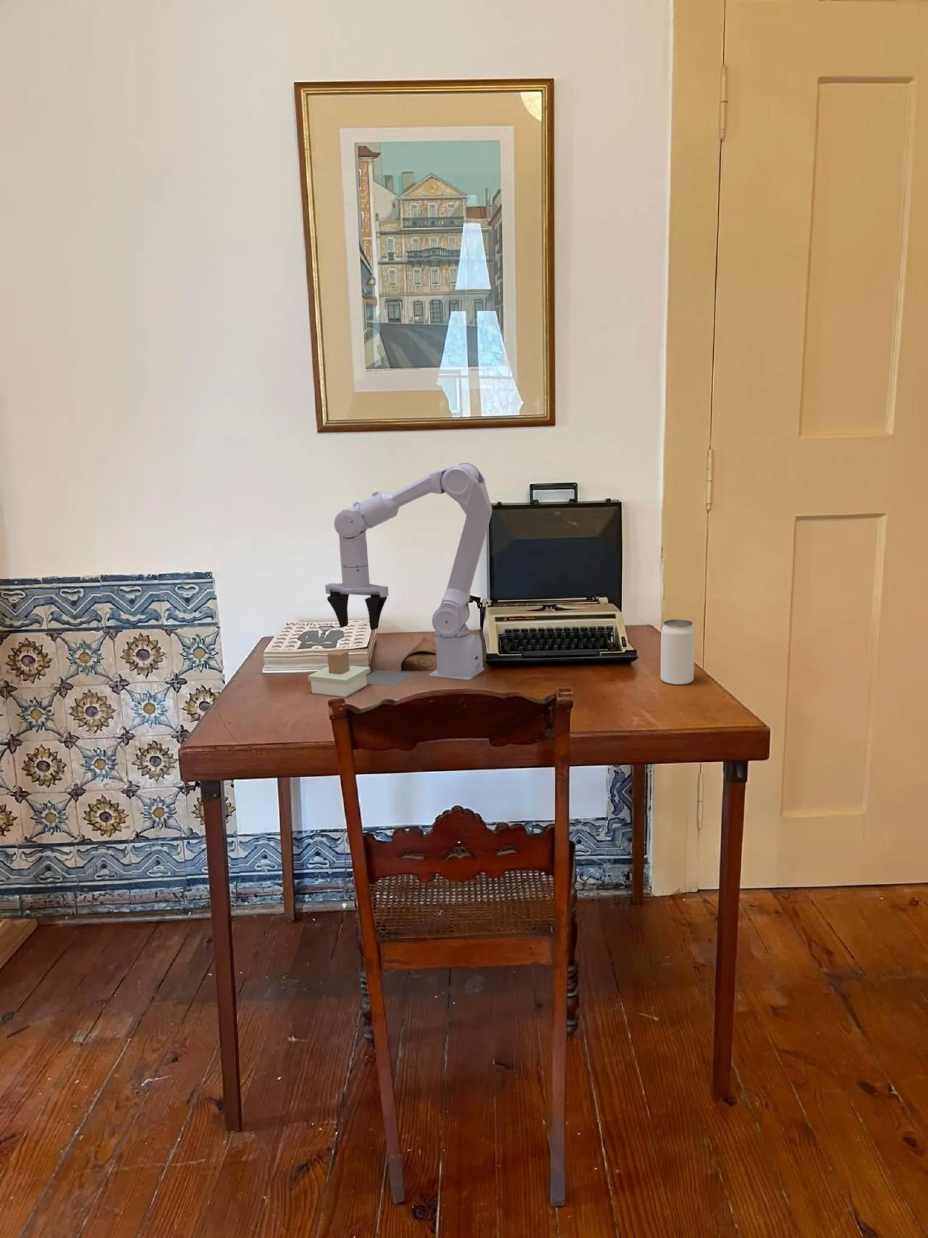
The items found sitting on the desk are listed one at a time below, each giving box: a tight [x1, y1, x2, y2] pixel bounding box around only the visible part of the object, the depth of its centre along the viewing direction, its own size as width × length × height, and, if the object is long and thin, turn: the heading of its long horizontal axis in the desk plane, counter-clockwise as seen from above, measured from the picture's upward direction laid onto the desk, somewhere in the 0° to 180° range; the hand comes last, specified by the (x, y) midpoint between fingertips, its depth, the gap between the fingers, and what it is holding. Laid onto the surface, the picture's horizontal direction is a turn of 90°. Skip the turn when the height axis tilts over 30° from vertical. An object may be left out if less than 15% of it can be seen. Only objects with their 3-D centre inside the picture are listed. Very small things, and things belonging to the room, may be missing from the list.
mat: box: [366, 669, 414, 688], centre depth 183 cm, size 9×9×1 cm
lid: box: [307, 649, 371, 685], centre depth 176 cm, size 9×9×5 cm
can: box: [660, 618, 696, 686], centre depth 174 cm, size 6×6×12 cm
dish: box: [310, 674, 368, 698], centre depth 177 cm, size 8×8×3 cm
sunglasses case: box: [400, 637, 437, 672], centre depth 195 cm, size 18×7×7 cm
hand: (359, 627), depth 187 cm, fingers open, 7 cm apart
